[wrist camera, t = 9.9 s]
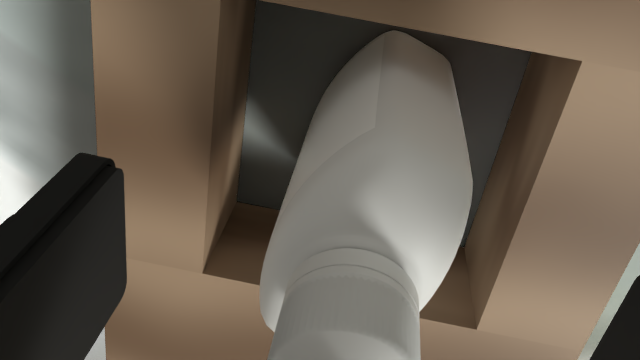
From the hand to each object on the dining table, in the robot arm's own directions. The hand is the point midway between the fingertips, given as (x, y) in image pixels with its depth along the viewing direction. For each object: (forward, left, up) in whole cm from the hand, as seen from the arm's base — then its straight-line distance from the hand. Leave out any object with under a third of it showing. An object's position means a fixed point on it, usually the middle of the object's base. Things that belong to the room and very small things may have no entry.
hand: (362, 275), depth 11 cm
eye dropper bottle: (0, 0, -9) cm, 9 cm away
